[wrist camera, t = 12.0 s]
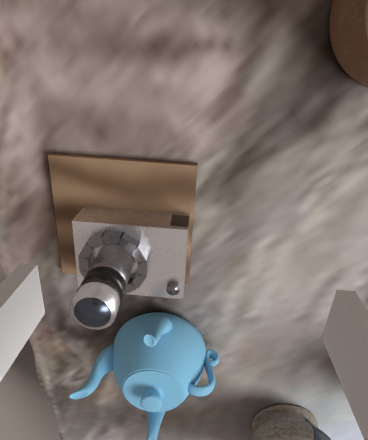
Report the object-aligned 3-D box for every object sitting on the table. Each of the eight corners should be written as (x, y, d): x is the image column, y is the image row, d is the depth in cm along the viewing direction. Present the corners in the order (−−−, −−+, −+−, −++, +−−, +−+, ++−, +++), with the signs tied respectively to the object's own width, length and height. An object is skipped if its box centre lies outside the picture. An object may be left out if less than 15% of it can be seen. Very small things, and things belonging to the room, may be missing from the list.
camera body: (84, 205, 47) (67, 225, 41) (190, 213, 46) (187, 234, 40) (89, 270, 52) (75, 297, 46) (185, 278, 51) (182, 306, 45)
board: (51, 152, 45) (47, 154, 44) (197, 163, 44) (197, 165, 43) (65, 268, 53) (62, 273, 52) (188, 279, 53) (188, 283, 51)
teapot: (90, 338, 60) (64, 401, 48) (159, 280, 53) (147, 337, 42) (160, 388, 64) (150, 455, 53) (231, 339, 58) (237, 405, 46)
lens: (107, 237, 43) (81, 286, 34) (140, 257, 44) (124, 309, 35) (90, 264, 45) (60, 317, 36) (122, 282, 46) (102, 338, 37)
